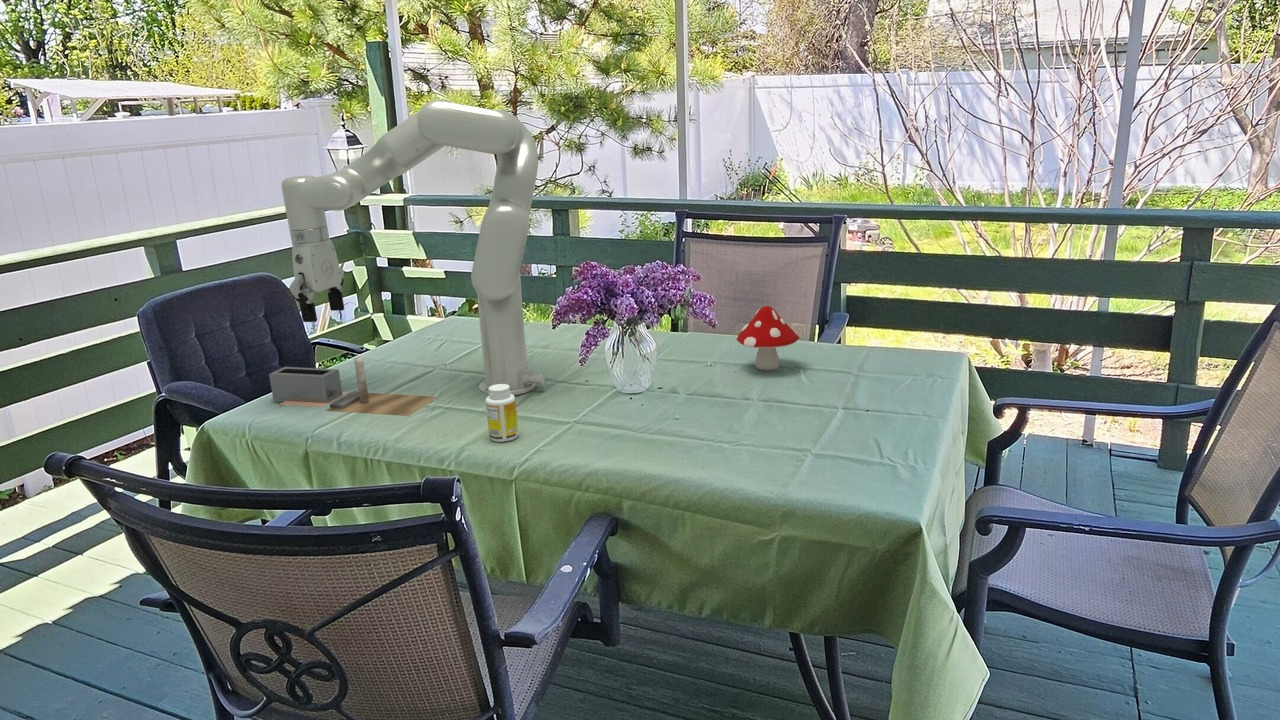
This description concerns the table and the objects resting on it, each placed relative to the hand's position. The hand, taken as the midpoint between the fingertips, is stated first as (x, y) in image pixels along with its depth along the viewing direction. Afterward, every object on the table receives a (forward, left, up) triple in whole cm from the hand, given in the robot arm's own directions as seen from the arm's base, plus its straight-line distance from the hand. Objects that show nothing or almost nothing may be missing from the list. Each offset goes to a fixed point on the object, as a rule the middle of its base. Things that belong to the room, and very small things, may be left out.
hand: (324, 315), depth 192 cm
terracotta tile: (+5, +1, -19) cm, 20 cm away
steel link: (+7, +1, -19) cm, 20 cm away
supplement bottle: (-47, +14, -20) cm, 52 cm away
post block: (-13, +2, -19) cm, 23 cm away
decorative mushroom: (-90, -36, -20) cm, 99 cm away
